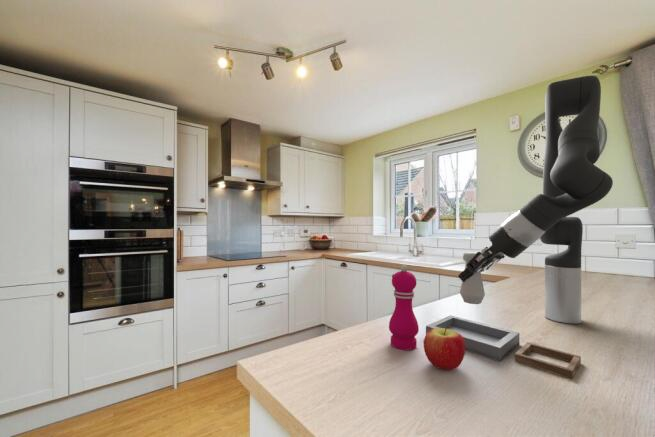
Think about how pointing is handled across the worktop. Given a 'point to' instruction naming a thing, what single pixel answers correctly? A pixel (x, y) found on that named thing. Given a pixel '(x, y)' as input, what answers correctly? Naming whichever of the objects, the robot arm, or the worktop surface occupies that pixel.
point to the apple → (444, 348)
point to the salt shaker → (472, 284)
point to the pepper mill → (403, 311)
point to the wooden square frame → (567, 372)
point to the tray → (481, 336)
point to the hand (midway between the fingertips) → (464, 278)
